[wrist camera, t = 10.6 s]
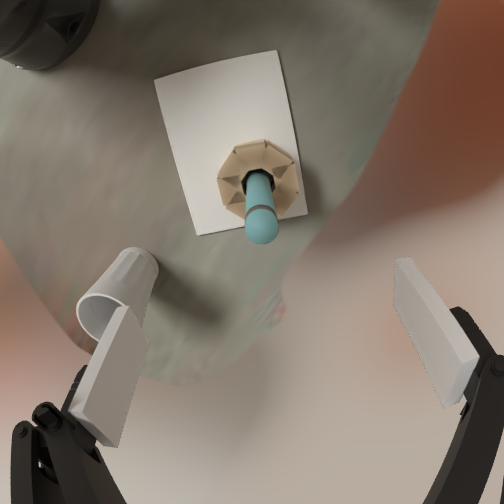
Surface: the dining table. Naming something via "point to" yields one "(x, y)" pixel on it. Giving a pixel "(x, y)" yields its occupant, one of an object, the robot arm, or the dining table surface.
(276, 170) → the bead
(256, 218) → the teal marker pen
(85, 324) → the cup
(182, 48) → the dining table surface
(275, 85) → the mat
